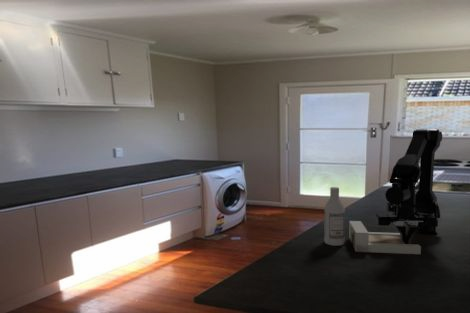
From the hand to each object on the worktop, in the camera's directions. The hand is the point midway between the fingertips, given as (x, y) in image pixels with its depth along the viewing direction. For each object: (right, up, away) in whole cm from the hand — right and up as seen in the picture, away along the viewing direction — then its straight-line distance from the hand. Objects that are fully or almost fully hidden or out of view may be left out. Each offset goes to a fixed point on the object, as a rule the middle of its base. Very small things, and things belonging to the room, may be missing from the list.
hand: (404, 244), depth 119 cm
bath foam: (-23, -1, +5) cm, 23 cm away
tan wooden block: (-8, -1, +2) cm, 8 cm away
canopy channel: (-8, -1, +2) cm, 8 cm away
